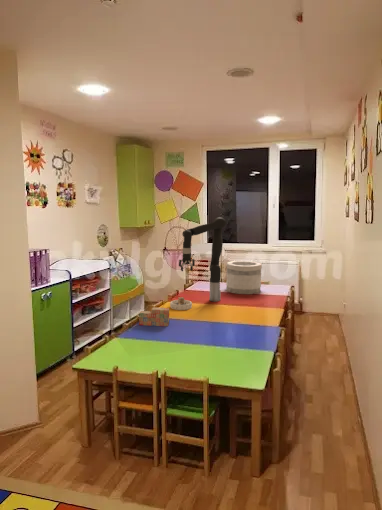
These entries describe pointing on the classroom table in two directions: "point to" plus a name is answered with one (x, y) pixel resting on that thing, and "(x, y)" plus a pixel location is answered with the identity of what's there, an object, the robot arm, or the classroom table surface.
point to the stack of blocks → (154, 317)
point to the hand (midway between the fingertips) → (186, 270)
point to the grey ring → (181, 305)
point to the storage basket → (243, 277)
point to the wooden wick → (180, 300)
